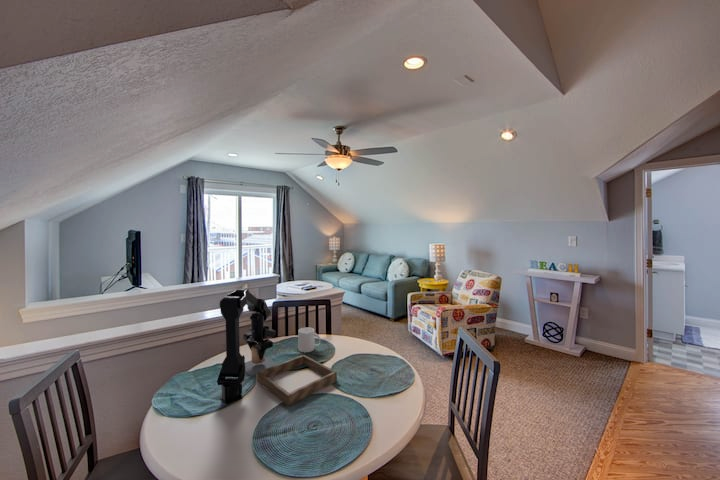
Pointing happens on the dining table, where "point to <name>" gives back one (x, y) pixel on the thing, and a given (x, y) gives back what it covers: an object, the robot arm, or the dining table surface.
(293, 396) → the frame
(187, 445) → the dining table surface
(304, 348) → the mug
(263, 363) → the mat
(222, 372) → the robot arm
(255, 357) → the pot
